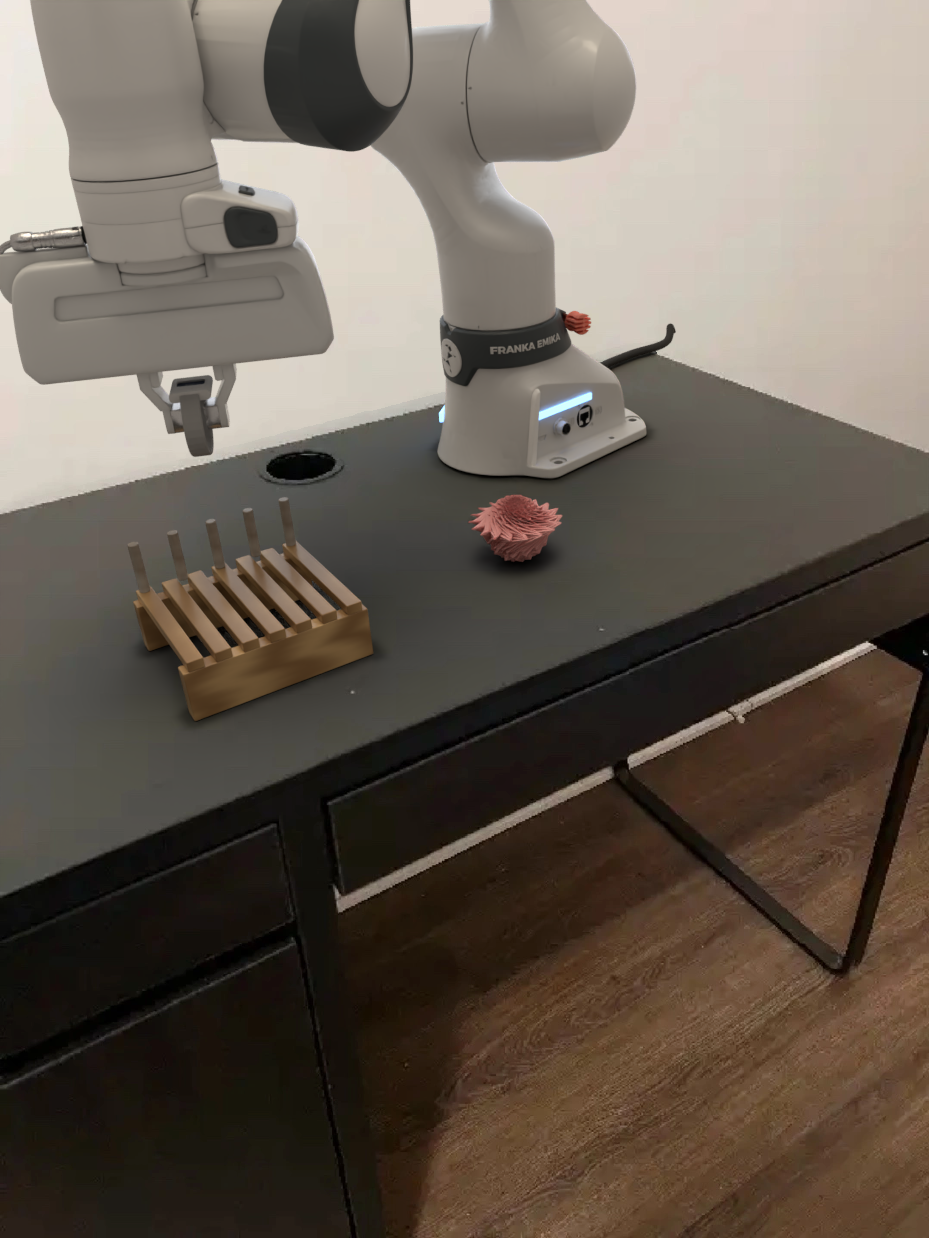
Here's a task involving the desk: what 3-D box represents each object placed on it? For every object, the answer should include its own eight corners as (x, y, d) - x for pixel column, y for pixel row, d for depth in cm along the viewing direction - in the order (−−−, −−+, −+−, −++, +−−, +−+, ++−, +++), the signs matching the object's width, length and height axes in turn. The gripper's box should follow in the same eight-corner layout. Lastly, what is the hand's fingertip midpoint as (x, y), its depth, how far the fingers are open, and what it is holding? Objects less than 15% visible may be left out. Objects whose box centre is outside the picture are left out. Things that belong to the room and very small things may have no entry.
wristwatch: (223, 467, 70) (208, 397, 67) (181, 472, 70) (165, 402, 67) (225, 434, 75) (212, 367, 73) (187, 438, 75) (173, 372, 72)
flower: (454, 568, 87) (449, 509, 84) (496, 528, 93) (493, 471, 90) (539, 586, 84) (537, 525, 81) (577, 543, 90) (577, 485, 87)
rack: (308, 589, 86) (292, 493, 81) (373, 654, 77) (360, 550, 73) (144, 644, 80) (117, 545, 76) (195, 721, 71) (167, 614, 67)
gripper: (-29, 246, 61) (37, 463, 68) (318, 213, 63) (346, 427, 70) (-5, 225, 66) (54, 429, 73) (314, 195, 68) (340, 396, 75)
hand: (199, 428), depth 72 cm, fingers closed on wristwatch
